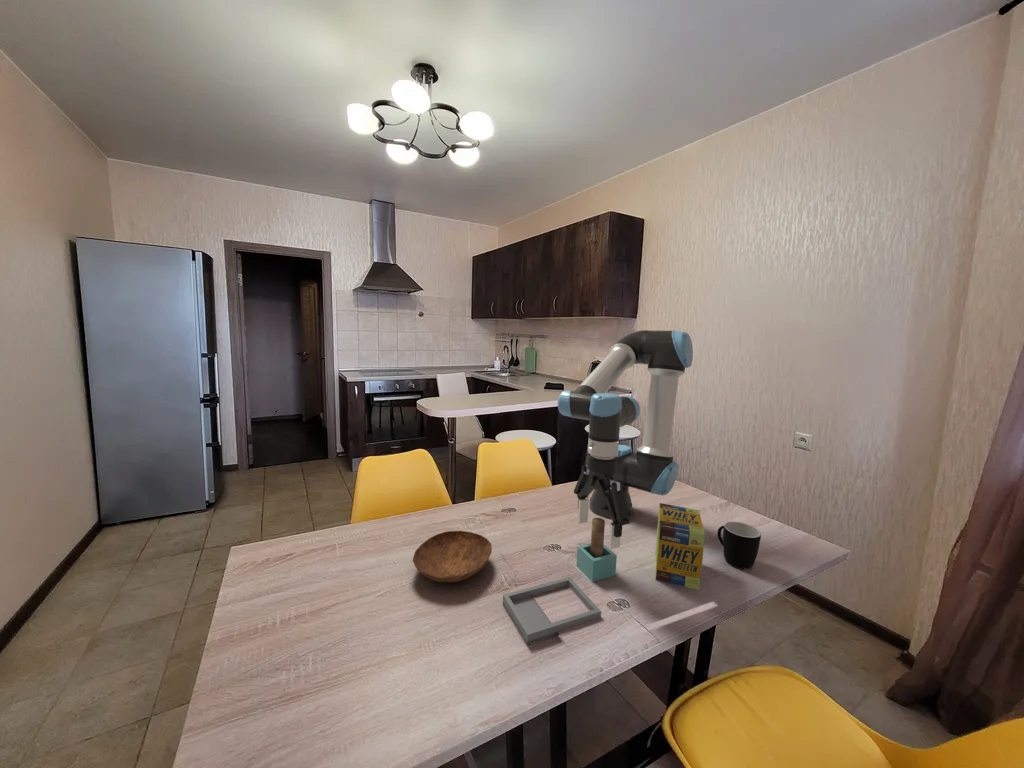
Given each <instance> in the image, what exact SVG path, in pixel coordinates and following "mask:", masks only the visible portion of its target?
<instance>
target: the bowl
mask: <svg viewBox="0 0 1024 768" xmlns="http://www.w3.org/2000/svg"><path fill="white" fill-rule="evenodd" d="M492 550H493V549H492V543H491V542H490V541H489V539H488V538H487V537H485V536H483V535H481V534H478V533H475V532H471V531H467V530H466V531H464V530H447V531H444V532H441V533H438V534H435V535H433V536H431V537H428V538H427V540H425V541H424V542H422V543H421V544H420V545H419V546H418V548H417V549H416V550H415V551H414V554H413V557H412V562H413V564H414V567H415V569H417V571H418V573H420V574H421V575H422V576H424V577H425V578H428V579H429V580H431V581H435V582H438V583H459V582H462V581H465V580H467V579H469V578H470V577H473V576H474V575H476V574H477V573H479V572H480V571H481V570H482V569H483V568H484V567H485V565H486V564H487V562H488V561H489V558H490V557H491V554H492V553H493V552H492Z"/></svg>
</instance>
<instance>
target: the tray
mask: <svg viewBox="0 0 1024 768" xmlns="http://www.w3.org/2000/svg"><path fill="white" fill-rule="evenodd" d="M564 587H569V588H570V590H571V591H573V593H574V594H575V596H577V598H578V599H579V600H580V601H581V602H582V603H583V604H584V606H586V608H587V609H588V611H585V612H583V613H579V614H577V615H573V616H570V617H566V618H563V619H559V620H557V621H554V622H551V620H550V619H549V618H548V616H547V615H546V613H545V612H544V610H543V609H542V608H541V606H540V605H539V604H538V602H537V601H536V599H535V598H534V596H536V595H538V594H539V595H540V594H543V593H546V592H549V591H553V590H556V589H557V590H558V589H561V588H564ZM502 605H503V608H504V609H505V610H506V612H507V614H508V615H509V617H510V619H511V621H512V622H513V624H514V626H515V627H516V629H517V631H518V632H519V634H520V636H521V638H522V637H523V638H522V639H523V641H524V642H526V643H525V644H526V646H529V645H528V644H530V645H532V644H531V643H533V644H535V643H534V642H536V643H538V642H537V641H539V642H541V640H542V641H544V640H543V639H545V640H547V639H546V638H548V639H551V638H554V637H556V635H557V636H560V635H559V634H560V633H559V632H560V631H563V630H567V629H569V628H572V627H576V626H579V625H582V624H584V623H588V622H590V621H593V620H596V619H600V618H601V617H602V611H601V609H600V608H599V607H598V606H597V605H596V604H595V603H594V601H592V599H590V598H589V596H588V595H587V594H586V593H585V592H584V591H583V590H582V589H581V588H580V587H579V585H578V584H577V583H576V582H575V581H574V580H573V579H572V578H571V577H570V576H568V577H565V578H559V579H556V580H552V581H549V582H545V583H542V584H538V585H534V586H530V587H526V588H523V589H519V590H516V591H512V592H508V593H504V594H502ZM553 636H554V637H553ZM550 637H551V638H550Z"/></svg>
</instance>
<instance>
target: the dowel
mask: <svg viewBox="0 0 1024 768" xmlns="http://www.w3.org/2000/svg"><path fill="white" fill-rule="evenodd" d="M605 525H606V520H605V519H603V518H602V517H593V518H592V519H591V534H590V543H591V550H590V555H591V556H592V557H593V558H598V557H602V556H603V544H604V543H605V542H604V541H605ZM604 545H605V544H604Z"/></svg>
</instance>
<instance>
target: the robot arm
mask: <svg viewBox="0 0 1024 768" xmlns="http://www.w3.org/2000/svg"><path fill="white" fill-rule="evenodd" d="M693 358H694V350H693V341H692V339H691V336H690V334H689V333H688V332H686V331H680V330H647V329H643V330H642V329H641V330H636V331H634V332H631V333H628V334H627V335H625V336H623V337H621V338H620V339H618V340H617V341H616V342H614V343H613V344H612V345H611V346H610V347H609V349H608V353H607V356H605V358H604V359H603V360H602V361H601V362H600V363H599V364H598V365H597V366H596V367H595V369H593V370H592V372H590V374H588V376H587V377H586V378H585V379H584V380H583V381H582V382H581V383H580V385H578V387H577V388H576V389H575V390H571V389H570V390H563V391H562V392H561V393H560V394H559V396H558V398H557V408H558V412H559V413H560V414H561V415H562V416H565V417H569V418H572V419H579V420H585V421H588V422H589V423H588V425H589V426H588V442H587V443H588V444H587V452H588V454H587V455H586V465H582V466H581V472H580V475H579V477H578V480H577V482H576V484H575V486H574V489H573V493H574V494H575V495H576V496H577V499H578V502H577V504H578V505H577V507H578V510H577V513H578V514H577V523H578V524H581V525H582V524H586V523H588V518H589V510H591V512H593V513H594V514H596V515H598V516H601V517H605V518H610V519H611V521H612V522H610V523H609V524H610V525H609V538H608V549H610V550H615V549H618V548H620V547H621V546H620V545H621V537H622V535H623V526H625V525H630V516H631V515H632V514H633V509H634V508H633V503H632V499H631V495H630V490H629V488H632V489H635V490H641V491H644V492H646V493H650V494H652V495H658V496H666V495H669V493H670V492H671V490H672V489H673V487H674V485H675V483H676V479H677V475H678V472H679V464H678V462H677V461H675V460H674V454H673V453H672V451H671V450H670V446H671V439H672V431H673V424H674V415H675V409H676V402H677V394H678V385H679V380H680V377H681V376H683V375H685V372H686V371H685V370H686V369H687V368H691V366H692V363H693ZM639 364H640V365H647V369H646V370H647V371H648V372H649V374H650V384H649V390H648V391H649V392H648V397H647V398H648V399H647V400H648V401H647V405H646V407H647V408H646V415H645V421H644V422H645V423H644V428H643V437H642V444H641V445H640V446H639V447H637V449H636V453H635V452H633V449H632V447H631V446H628V445H625V444H620V433H621V431H620V430H621V428H622V427H625V426H627V425H631V424H632V423H633V422H635V421H636V420H637V419H638V418H639V416H640V414H641V406H640V404H639V402H638V401H637V399H635V398H633V397H632V396H625V395H622V396H620V395H619V394H615V393H609V390H610V389H611V388H612V387H613V385H614V384H615V383H617V381H618V379H619V378H620V377H621V376H622V375H623V373H624V372H625V371H626V370H627V369H631V368H632V367H633V366H634V365H639ZM591 493H592V494H591ZM590 494H591V496H590ZM589 496H590V498H589Z"/></svg>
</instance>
